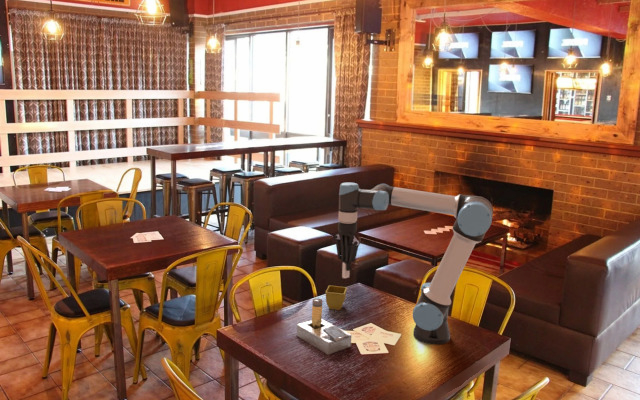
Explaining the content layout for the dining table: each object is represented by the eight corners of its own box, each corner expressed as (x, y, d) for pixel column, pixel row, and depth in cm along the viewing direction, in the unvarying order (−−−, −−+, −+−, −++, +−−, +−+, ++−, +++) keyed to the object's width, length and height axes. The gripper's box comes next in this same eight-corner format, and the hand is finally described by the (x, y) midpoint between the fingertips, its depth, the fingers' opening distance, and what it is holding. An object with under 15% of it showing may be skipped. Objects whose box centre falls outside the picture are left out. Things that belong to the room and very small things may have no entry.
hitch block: (296, 335, 234) (297, 324, 233) (319, 328, 242) (319, 317, 241) (328, 354, 219) (328, 342, 218) (350, 346, 227) (351, 334, 226)
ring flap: (322, 331, 225) (322, 328, 224) (335, 327, 229) (335, 324, 229) (335, 343, 219) (336, 340, 218) (348, 338, 223) (349, 335, 223)
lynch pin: (322, 336, 234) (324, 300, 230) (315, 339, 231) (317, 303, 228) (316, 333, 237) (318, 297, 233) (308, 336, 234) (310, 299, 230)
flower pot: (343, 312, 259) (344, 293, 258) (324, 310, 261) (325, 291, 259) (346, 305, 268) (347, 287, 266) (328, 303, 270) (328, 285, 268)
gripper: (366, 223, 225) (363, 279, 230) (342, 216, 234) (341, 271, 239) (352, 225, 220) (350, 283, 225) (329, 219, 229) (328, 275, 234)
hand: (345, 277), depth 232 cm, fingers closed
